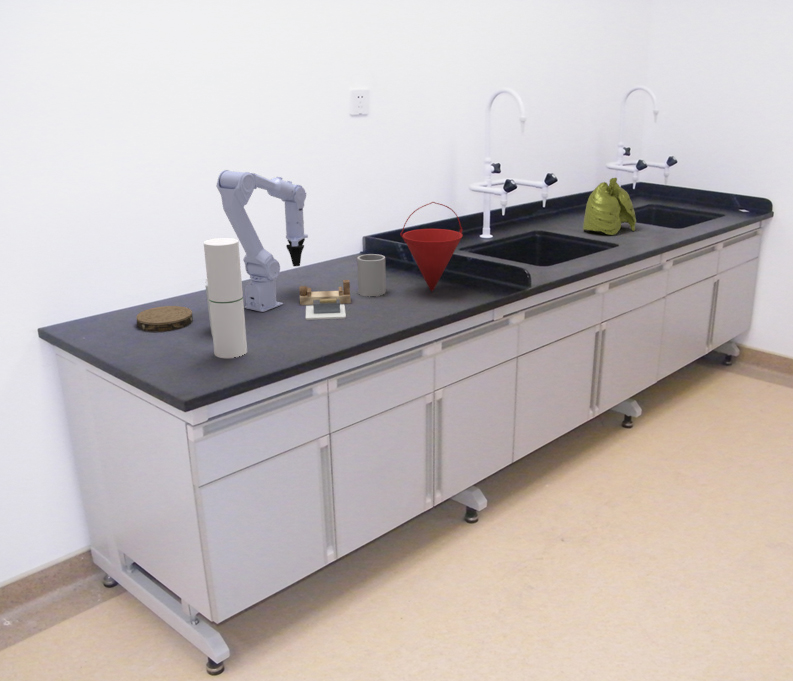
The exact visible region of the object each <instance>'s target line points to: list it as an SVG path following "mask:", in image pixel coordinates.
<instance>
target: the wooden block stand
mask: <svg viewBox="0 0 793 681" xmlns="http://www.w3.org/2000/svg"><path fill="white" fill-rule="evenodd" d="M350 284H351V282H350V279H343V280H342V286H338V290H328V291H327V290H323V291H321V290H320V291H312V287H308V286H307V285H302V286H301V285H300V286H299V289H298V290H299V291H298V292H299V306H313V300H320V299H340V305H345V304H351V303H352V301H351V288H350V287H351V285H350Z"/></svg>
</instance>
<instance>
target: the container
mask: <svg viewBox="0 0 793 681" xmlns="http://www.w3.org/2000/svg"><path fill="white" fill-rule="evenodd" d="M203 249H204V250H203V251H204V261H205V270H206V279H207V283H208V293H209V303H210V314H211V324H212V334H213V335H212V340H213V341H212V344H213V352H214V356H215V357H217V358H221V359H235V358H234V357H236V358H239V356H240V357H242V355H243V356H245V355H246V354H247V353H248V346H247V345H248V344H247V331H246V320H245V308H244V307H245V306H244V296H243V295H244V293H243V283H242V270H241V259H240V258H241V256H240V245H239V239H238V238H237V239H236V238H232V237H217V238H210V239H207V240H204V241H203ZM244 354H245V355H244Z"/></svg>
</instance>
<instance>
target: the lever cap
mask: <svg viewBox="0 0 793 681" xmlns="http://www.w3.org/2000/svg"><path fill="white" fill-rule="evenodd" d="M340 305H341V304H340V299H320V300H313V305H312V306H313V308H314V314H317V313H340Z"/></svg>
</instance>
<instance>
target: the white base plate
mask: <svg viewBox="0 0 793 681" xmlns="http://www.w3.org/2000/svg"><path fill="white" fill-rule="evenodd" d="M341 319H342V320H345V319H347V316H346V307H345V304H340V313H317V314H314V308H313V305H305V320H306V321H312V320H313V321H314V320H317V321H318V320H341Z"/></svg>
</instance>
